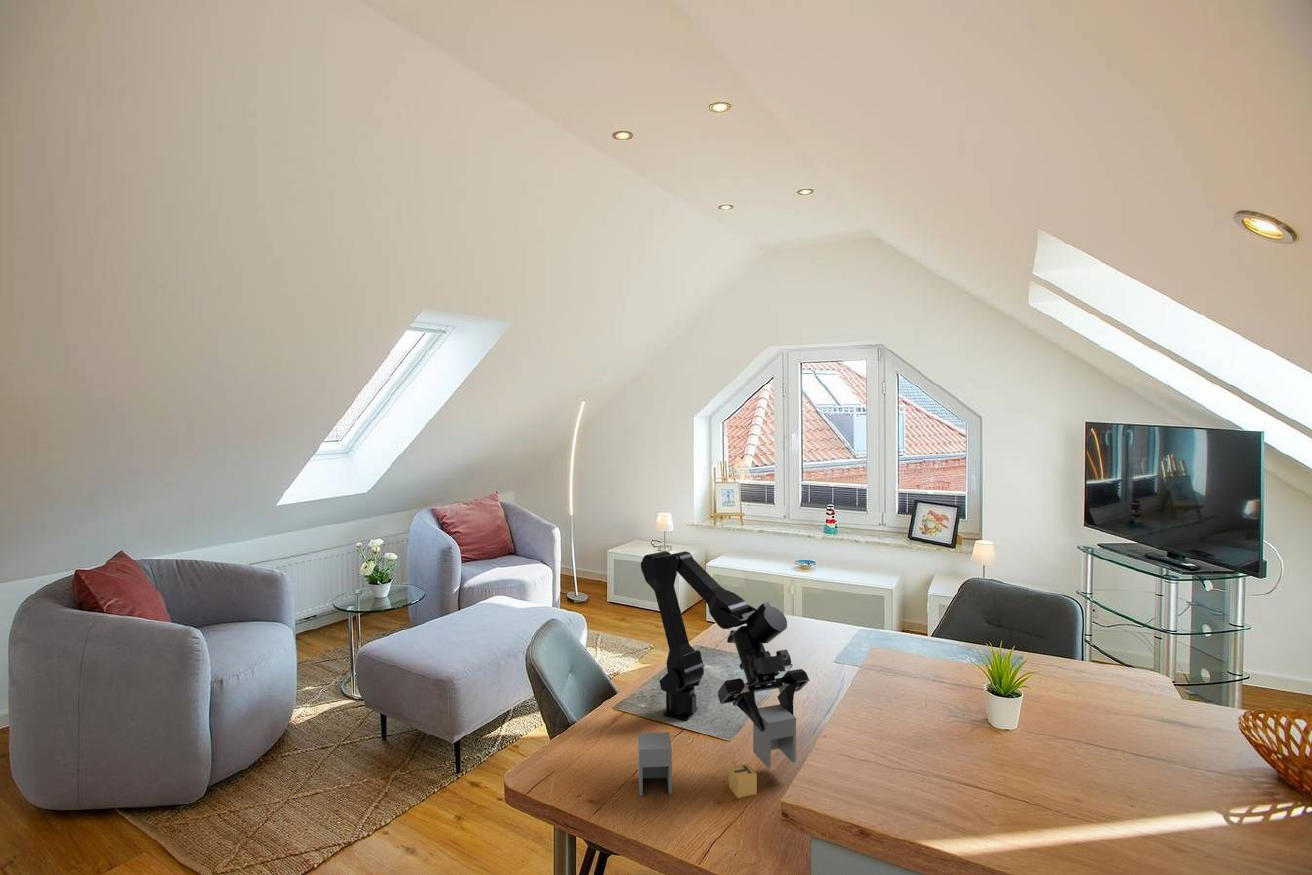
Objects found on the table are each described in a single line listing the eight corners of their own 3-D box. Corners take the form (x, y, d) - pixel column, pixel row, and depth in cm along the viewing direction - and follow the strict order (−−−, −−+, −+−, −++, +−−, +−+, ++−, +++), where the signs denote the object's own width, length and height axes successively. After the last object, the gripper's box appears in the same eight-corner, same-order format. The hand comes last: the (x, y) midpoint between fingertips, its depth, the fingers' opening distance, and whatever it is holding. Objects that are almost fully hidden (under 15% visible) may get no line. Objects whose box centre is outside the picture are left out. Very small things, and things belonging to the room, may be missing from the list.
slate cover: (638, 776, 130) (638, 733, 129) (669, 775, 130) (668, 731, 130) (639, 795, 124) (639, 749, 123) (671, 794, 124) (671, 748, 124)
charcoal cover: (753, 751, 132) (753, 708, 132) (780, 746, 134) (780, 704, 134) (767, 767, 127) (768, 722, 126) (795, 762, 129) (796, 717, 128)
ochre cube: (728, 786, 126) (728, 766, 126) (747, 782, 128) (747, 762, 128) (737, 798, 123) (737, 777, 122) (756, 794, 124) (756, 773, 124)
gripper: (723, 642, 130) (748, 721, 120) (804, 631, 136) (834, 705, 126) (708, 665, 138) (730, 741, 128) (785, 654, 144) (812, 726, 134)
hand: (777, 728), depth 129 cm, fingers closed on charcoal cover, 6 cm apart
